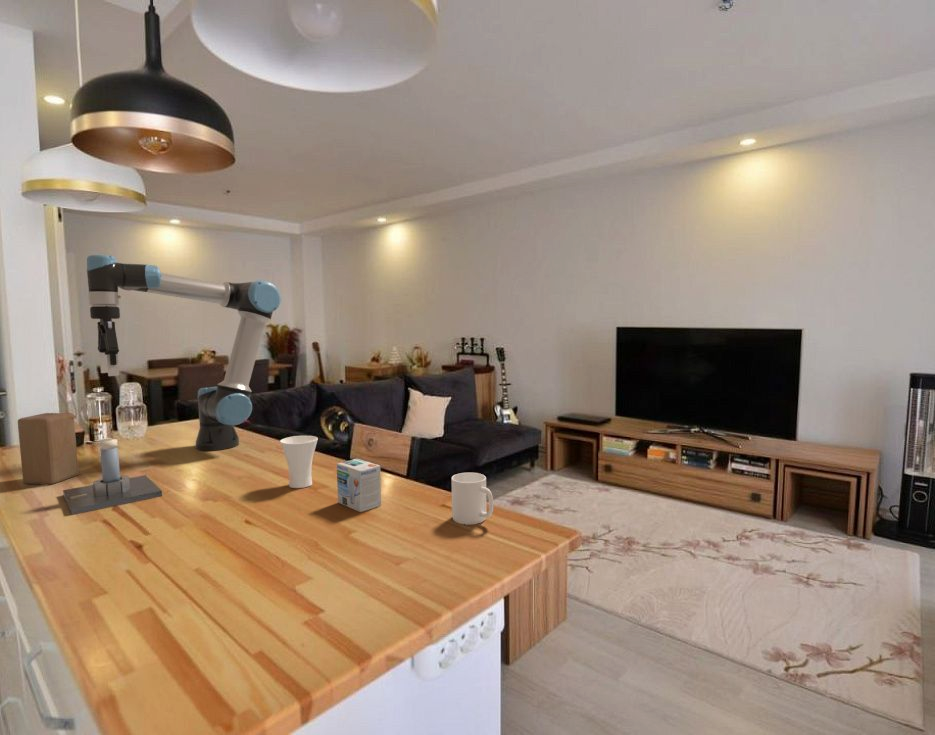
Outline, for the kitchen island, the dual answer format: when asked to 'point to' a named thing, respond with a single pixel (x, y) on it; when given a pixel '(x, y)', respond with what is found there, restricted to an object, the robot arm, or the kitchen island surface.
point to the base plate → (110, 493)
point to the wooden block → (48, 448)
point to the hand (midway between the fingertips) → (109, 374)
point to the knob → (109, 460)
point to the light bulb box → (359, 484)
